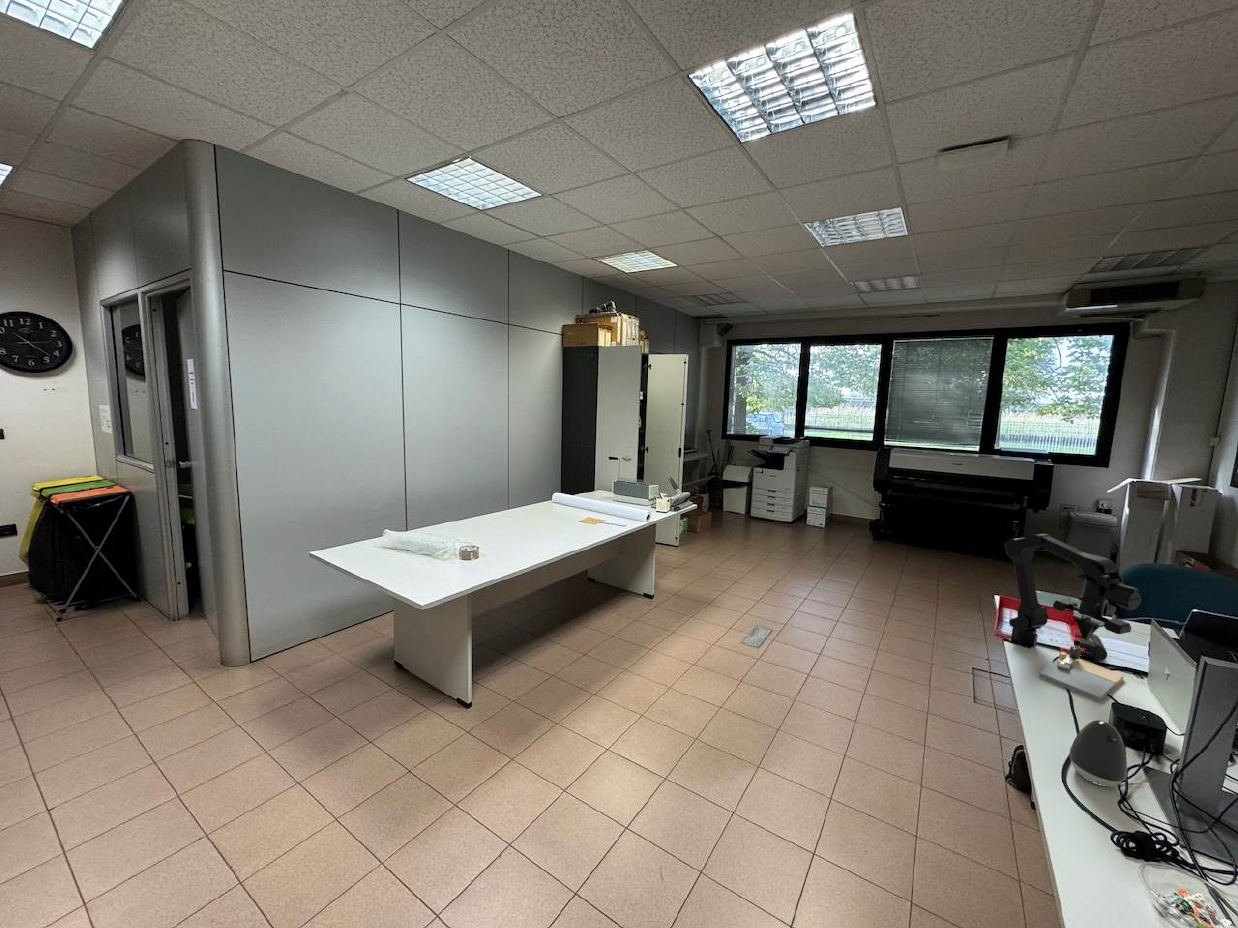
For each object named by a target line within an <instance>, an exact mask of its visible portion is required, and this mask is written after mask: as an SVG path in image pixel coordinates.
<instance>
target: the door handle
mask: <svg viewBox="0 0 1238 928" xmlns="http://www.w3.org/2000/svg"><path fill="white" fill-rule="evenodd" d="M1068 655H1069V657H1067V658H1066V659H1064V660H1063V661H1057V667H1059V668H1061V669H1064V670H1069V669H1070V666H1071V665H1072V664H1074V663H1075V662H1076V661H1078V660H1079V659H1080V655H1081V649H1080V648H1078V647H1074V645H1072V646H1070V647H1069V653H1068Z"/></svg>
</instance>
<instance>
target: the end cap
mask: <svg viewBox="0 0 1238 928" xmlns="http://www.w3.org/2000/svg"><path fill="white" fill-rule="evenodd" d="M1074 637H1075V638H1078V639H1074V640H1073V646H1075V647H1079V646H1080V648H1083V649H1084V650H1085V651H1086V652H1085V651H1081V655H1082V656H1080V659H1082V660H1084V661H1087V662H1090V663H1099V662H1102V661H1104V660H1106V659H1107V658H1108V651H1107V650H1106V648H1105V646H1104V644H1103V642H1102V640H1101V638H1100V637H1099V636H1098V635H1096V634H1094V633H1093V634H1092V635H1091V636H1090V638H1089V639H1088V640H1085V639H1083V637H1082V635H1081V632H1075V635H1074Z"/></svg>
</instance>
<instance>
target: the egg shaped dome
mask: <svg viewBox="0 0 1238 928" xmlns="http://www.w3.org/2000/svg"><path fill="white" fill-rule="evenodd" d="M1069 758H1070V761H1071V765H1072V767H1073V768H1074V770H1075V772H1076V773H1078V775H1080V776H1081V775H1082V776H1083V777H1085V778H1086V779H1088V780H1091V781H1092V782H1095V783H1097V784H1101V785H1105V786H1112V787H1113V786H1114V787H1116V786H1119V785H1120V784H1121V783H1122V782H1123V781H1125V780H1126V778H1127V776H1128V759H1127V758H1128V757H1127V752H1126V748H1125V744H1124V741H1123V739H1122V736H1121V734H1120V732H1119V731H1118V729H1117V728H1116V727H1115V726H1114V725H1112V724H1111V723H1109V722H1107V721H1105V720H1092V721H1091V722H1088V723H1087V724H1086V725H1085V726H1084V727H1083V728H1081V730H1080V731H1079V732H1078V734H1077V735H1076V737H1074V740H1073V742H1072V744H1071V746H1070V748H1069ZM1082 776H1081V777H1082ZM1085 778H1084V779H1085ZM1086 779H1085V780H1086ZM1088 780H1087V781H1088ZM1092 782H1091V783H1092ZM1112 787H1111V788H1112Z"/></svg>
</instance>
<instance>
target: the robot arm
mask: <svg viewBox="0 0 1238 928" xmlns="http://www.w3.org/2000/svg"><path fill="white" fill-rule="evenodd" d="M1004 548H1005V552H1006V554H1007V557H1009V559H1010V560H1011V561H1012V563H1013V566H1014V573H1015V576H1016V584H1017V587H1018V589H1017V590H1018V594H1019V601H1020V603H1019V604H1018V605H1019V606H1018V608H1017V617H1014V618H1011V619H1009V620H1008V621H1009V626H1010V627H1011V635H1010V636H1011V637H1010V638H1009V639H1008V642H1011V643H1014V644H1016V645H1017V646H1018V645H1019V646H1021V647H1023V648H1026V649H1031V648H1033V647H1034V646H1036V645H1037V643H1038V636H1039V635H1038V633H1037V632H1038V631H1037V630H1040V629H1041V628H1042V627H1044V626H1046V624H1047V623H1048V619H1049V620H1050V617H1049V616H1048V608H1047V607H1045V606H1044V607H1043V606H1042V605H1041V604H1040V602H1039V600H1038V595H1037V589H1036V584H1035V579H1034V574H1033V568H1032V560H1033V558H1034V555H1035V549H1038V548H1042V549H1043V550H1046V551H1049V552H1050V553H1053V554H1055V555H1056V556H1058V557H1060V558H1063V559H1065V560H1067V561H1068V562H1071V563H1072V564H1074V565H1075V566H1076V567H1077V568H1078V569H1079V570H1080V571H1082V572H1083V573H1081V574H1079V575H1077V576H1076V577H1077V578H1078V579H1081V580H1084V584H1083V588H1082V594H1081V595H1079V597H1078V600H1080V604H1079V605H1078V603H1077V602H1075V601H1072V600H1069V599H1068V598H1061V599H1058V600H1054V602H1053V603H1052V609H1055V610H1058V611H1059V612H1065V611H1066V610H1069V611H1071V612H1072V613H1073V615H1070V616H1071V617H1070V618H1072V619H1073V620H1074V622H1075V623H1076V626H1077V627H1078V629H1079V633H1081V635H1082V637H1083V638H1082V640H1088V639H1089V638H1090V636H1091V635H1092V634H1094V633H1095V632H1096V631H1097V630H1098V629H1099V628H1103V627H1104V629H1105V630H1106V631H1108V632H1111V633H1114V634H1116V635H1123V634H1128V633H1131V631H1132V626H1131V624H1130V623H1129V622H1128V621H1123V620H1122V619H1118V618H1111V619H1109V618H1107V617H1108V616H1111V617H1113V616H1115V612H1116V611H1117V605H1118V606H1119V607H1122V608H1124V609H1128V610H1129V611H1134V610H1136V609H1138V607H1140V605H1141V603H1142V596H1141V593H1140V592H1139V588H1137V587H1134V586H1130V585H1126V584H1124V583H1125V582H1124V580H1123V578H1122V576H1121V574H1120V573H1119V571H1118V570H1117V565H1116V564H1115V563H1116V562H1115V561H1114V560H1111V559H1109V558H1107V557H1104V556H1100V555H1098V554H1097V555H1096V554H1092V553H1087V552H1084V551H1081V550H1080V549H1078V548H1075V547H1073V546H1071V545H1070V544H1066V543H1064V542H1063V541H1061V540H1058V539H1056V538H1054V537H1052V536H1050V535H1049V534H1047V533H1039V534H1037V533H1036V534H1034V535H1032V536H1028V537H1019V538H1009V539H1008V540H1007V541H1006V542H1005V543H1004ZM1105 577H1106V578H1105ZM1107 577H1108V578H1107ZM1109 577H1110V578H1109ZM1109 603H1112V604H1114V605H1116V606H1114V605H1111V604H1109Z"/></svg>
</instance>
